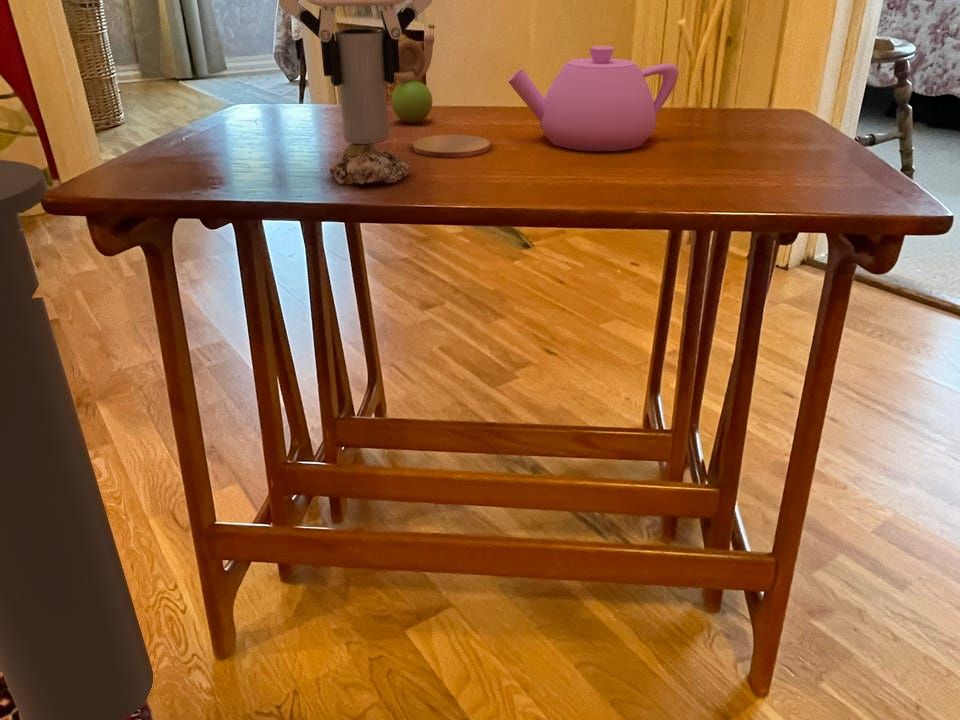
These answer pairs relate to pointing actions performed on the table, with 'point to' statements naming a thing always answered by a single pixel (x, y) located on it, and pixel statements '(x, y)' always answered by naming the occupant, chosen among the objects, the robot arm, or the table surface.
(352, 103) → the grey cylinder
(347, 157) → the mineral rock
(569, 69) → the teapot
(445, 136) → the cork coaster
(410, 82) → the snail figurine
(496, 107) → the table surface
